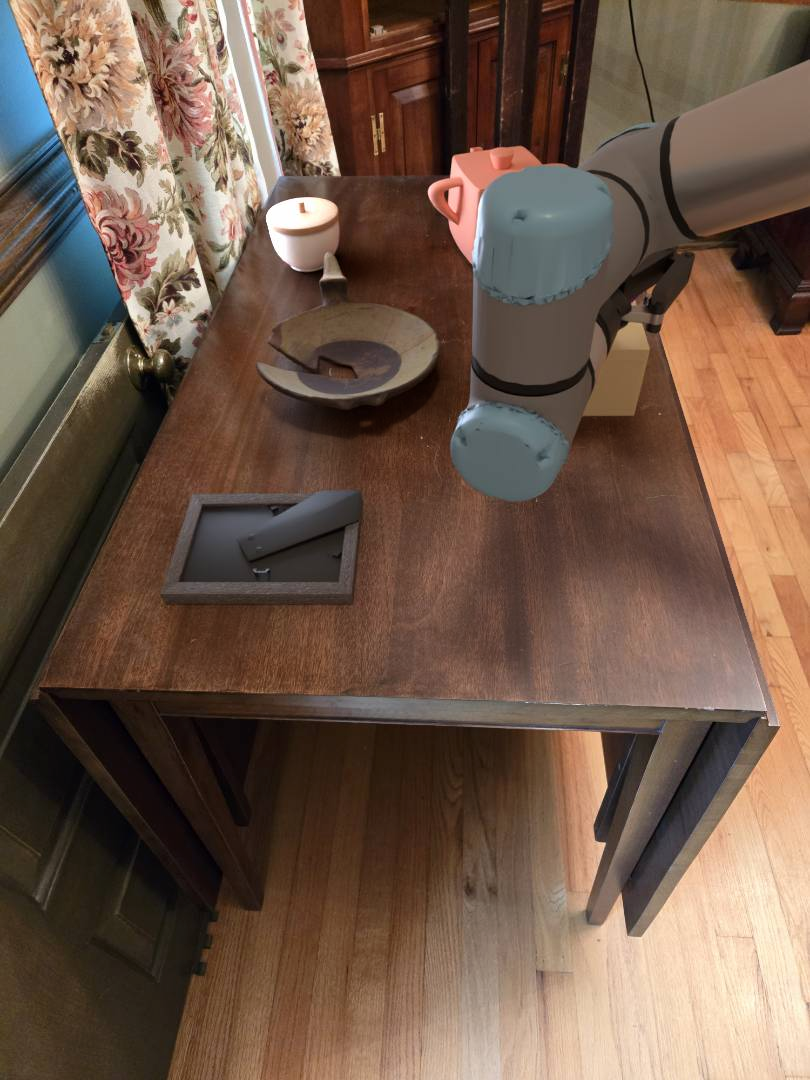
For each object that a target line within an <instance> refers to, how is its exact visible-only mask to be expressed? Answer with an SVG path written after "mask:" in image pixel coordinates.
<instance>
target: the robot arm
mask: <svg viewBox="0 0 810 1080" xmlns="http://www.w3.org/2000/svg"><path fill="white" fill-rule="evenodd" d="M567 166H568V165H567ZM567 166H556V165H544V164H542V165H539V166H530V167H525V168H523V169H522V170H521V171H520V172H509V173H505V174H503V175H501V176H500V177H498V178H497V179H495V180H494V181H493V182H491V183H490V184H489V185H488V187H487V188H486V189H485V191H484V193H483V194H482V196H481V199H480V203H479V207H478V218H477V229H476V238H475V241H474V250H473V251H472V260H473V262H472V264H471V266H472V272H473V273H472V331H471V332H472V333H471V334H472V340H471V342H472V343H471V344H472V345H471V353H472V354H471V361H470V385H469V386H470V387H469V388H470V390H469V399H468V403H467V407H466V408H465V409H464V410H462V411H461V413H459V416H458V418H457V421H456V423H457V424H456V426H455V429H454V431H453V433H452V436H451V440H450V447H449V449H450V457H451V460H452V463H453V466H454V467H455V469H456V471H457V473H458V474H459V476H460V477H461V478H462V479H463V480H464V482H466V483H467V484H468V485H469V486H470V487H471V488H473V489H474V490H475V491H477V492H479V493H481V494H483V495H485V496H487V497H489V498H496V499H497V500H503V501H505V502H526V501H529V500H532V499H534V498H536V497H539V496H541V495H542V494H544V493H545V492H547V491H548V490H549V489H550V487H551V486H552V485H553V484H554V482H555V480H556V479H557V476H558V474H559V472H560V471H561V469H562V467H563V465H564V464H565V463H567V462H568V459H569V457H570V452H569V451H570V449H571V446H572V443H573V440H574V438H575V436H576V433H577V430H578V427H579V425H580V423H581V419H582V417H583V416H582V415H583V413H584V410H585V408H586V405H587V403H588V400H589V398H590V396H591V394H592V391H593V389H594V387H595V384H596V382H597V380H598V377H599V375H600V373H601V371H602V368H603V366H604V363H605V360H606V359H607V356H608V354H609V352H610V349H611V347H612V344H613V342H614V340H615V337H616V335H617V333H618V331H619V330H620V329H622V328H624V327H625V326H626V325H627V324H628V323H629V322H635V323H642V324H643V325H644V326H645V329H644V330H645V331H646V332H647V333H649V334H657V333H660V332H661V329H662V325H663V323H664V322H663V321H664V318H665V314H666V313H667V311H668V310H669V309H670V308H671V306H672V305H673V304H674V302H675V301H676V299H677V298H678V297H679V296H680V294H681V293H682V292H683V290H684V289H685V288H686V287H687V285H688V284H689V282H690V277H691V275H692V271H693V266H694V263H695V259H696V254H695V253H694V252H693V251H689V250H688V251H683V252H681V253H679V252H678V250H679V246H681V245H685V244H688V243H692V242H695V241H698V240H702V239H704V238H707V237H709V236H714V235H716V234H720V233H724V232H726V231H730V230H733V229H737V228H740V227H745V226H747V225H750V224H755V223H757V222H761V221H766V220H767V219H771V218H774V217H779V216H781V215H785V214H789V213H792V212H795V211H798V210H801V209H805V208H808V207H809V208H810V59H807V60H805V61H803V62H800V63H798V64H795V65H794V66H792V67H791V66H790V67H789V68H787V69H784V70H782V71H780V72H776V73H775V74H772V75H770V76H768V77H765V78H763V79H761V80H758V81H756V82H754V83H752V84H748V85H747V86H744V87H742V88H739V89H738V90H735V91H732V92H730V93H728V94H726V95H723V96H721V97H719V98H717V99H714V100H712V101H709V102H707V103H705V104H703V105H700V106H697V107H696V108H693V109H690V110H688V111H686V112H684V113H682V114H681V115H679V116H676V117H674V118H671V119H668V120H665V121H663V122H643V123H638V124H636V125H633V126H630V127H629V128H627V129H625V130H624V131H622V132H619V133H618V134H615V135H614V136H612V137H610V138H609V139H606V140H605V141H604V142H602V143H601V144H600V145H599V147H598V148H597V149H596V150H595V151H594V152H592V153H591V154H590V156H589V157H588V158H587V159H585V161H583V162H582V163H581V164H580V165H578V167H576V168H575V167H571V166H569V167H567ZM651 288H652V290H651V293H646V294H645V295H644V299H643V300H640V301H639V303H638V304H637V305H635V306H632V305H631V303H630V301H631V300H632V299H634V298H636V297H637V296H638V297H639V296H640V295H642V294H643V293H645V292H647V291H648V290H650V289H651ZM638 297H637V298H638ZM637 298H636V299H637Z"/></svg>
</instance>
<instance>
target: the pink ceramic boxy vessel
mask: <svg viewBox="0 0 810 1080" xmlns="http://www.w3.org/2000/svg"><path fill="white" fill-rule="evenodd" d="M539 165H556V166H567V167H570V166H569V165H567V164H565V163H558V162H555V163H553V162H552V163H544V164H543V163H542V162H541V161H540V159H538V158H537V157H536V156H535V155H534V154H533V153H532V152H531V151H530V150H528V149H527V148H526V147H524V146H522V145H516V146H507V147H506V146H505V147H504V146H500V147H494V148H492V149H485V150H484V148H483V147H481V146H475V147H470V148H469V152H466V153H465V152H464V153H459V154H454V155H453V156H452V158H451V166H450V167H451V168H450V175H449V178H444V179H441V180H437V181H435V182H433V183H432V184H431V185H430V186H429V187H428V189H427V195H428V198H429V201H430V202H431V204H432V206H433V207H434V208H435V209H436V210H437V211H438V212H439V213H440V214H442V215H443V216H444V217H446V218H447V220H448V226H449V230H450V233H451V235H452V238H453V240H454V242H455V244H456V246H457V247H458V249H459V250H460V252H461V253H462V254H463V256H464V257H465V258H466V260H467V261H468V262H469V264H471V265H472V262H473V260H472V251H473V250H474V241H475V238H476V229H477V218H478V207H479V203H480V199H481V196H482V194H483V193H484V191H485V189H486V188H487V187H488V185H489V184H490V183H491V182H493V181H494V180H495V179H497V178H498V177H500V176H501V175H503V174H505V173H509V172H520V171H521V170H522V169H523V168H525V167H530V166H539ZM447 191H448V198H447V200H446V198H445V192H447Z"/></svg>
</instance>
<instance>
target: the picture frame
mask: <svg viewBox="0 0 810 1080" xmlns="http://www.w3.org/2000/svg"><path fill="white" fill-rule="evenodd" d="M362 492H363V491H362V489H321V490H319V491H318V492H307V493H300V492H299V493H298V492H296V493H295V492H294V493H192V495H191V497H190V500H189V504H188V507H187V510H186V513H185V516H184V519H183V522H182V524H181V528H180V531H179V535H178V538H177V540H176V544H175V547H174V550H173V553H172V556H171V559H170V562H169V565H168V568H167V571H166V575H165V577H164V578H165V579H164V581H163V584H162V587H161V590H160V593H159V595H160V597H161V599H162V601H163V603H164V605H354V599H355V598H354V597H355V588H356V580H357V579H356V578H357V569H358V558H359V550H360V549H359V548H360V538H361V528H362V520H363V519H362V518H363V509H364V498H363V493H362Z"/></svg>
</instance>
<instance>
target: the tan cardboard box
mask: <svg viewBox="0 0 810 1080" xmlns="http://www.w3.org/2000/svg"><path fill="white" fill-rule="evenodd" d="M631 305H632V306H635V305H638V304H637V301H636V299H635V300H634V301H633V302H632V303H631ZM645 331H646V330H645V329H644V324H643V323H635V322H629V323H628V324H627V325H626V326H625V327H624V328H622V329H620V330H619V331H618V333H617V335H616V337H615V340H614V342H613V344H612V347H611V349H610V352H609V354H608V356H607V359H606V360H605V363H604V366H603V368H602V371H601V373H600V375H599V377H598V380H597V382H596V384H595V387H594V389H593V391H592V394H591V396H590V398H589V400H588V403H587V405H586V408H585V410H584V413H583V415H582V417H635V415H636V410H637V406H638V401H639V397H640V393H641V389H642V385H643V381H644V377H645V372H646V369H647V365H648V361H649V356H650V355H649V354H650V352H651V347H650V344H649V341H648V338H647V335H646V332H645Z"/></svg>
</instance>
